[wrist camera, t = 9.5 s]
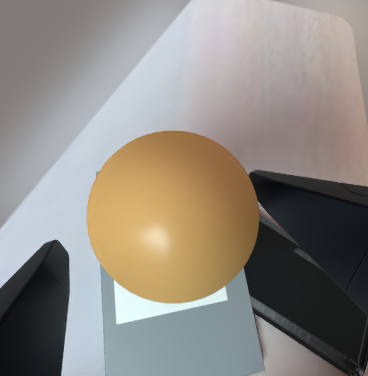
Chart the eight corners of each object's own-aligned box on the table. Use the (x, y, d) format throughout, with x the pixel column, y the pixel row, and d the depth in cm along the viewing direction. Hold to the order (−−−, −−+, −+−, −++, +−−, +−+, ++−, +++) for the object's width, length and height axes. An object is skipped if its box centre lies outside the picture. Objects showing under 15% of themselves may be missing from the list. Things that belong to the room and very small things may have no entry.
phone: (361, 384, 16) (210, 284, 16) (348, 375, 17) (206, 281, 17) (384, 293, 18) (250, 207, 18) (371, 290, 19) (244, 209, 19)
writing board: (259, 363, 16) (265, 371, 15) (110, 406, 14) (106, 417, 13) (217, 158, 20) (220, 155, 19) (98, 169, 18) (95, 166, 17)
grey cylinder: (194, 237, 17) (290, 236, 4) (156, 261, 16) (142, 348, 3) (172, 200, 17) (202, 108, 5) (134, 222, 17) (56, 176, 4)
